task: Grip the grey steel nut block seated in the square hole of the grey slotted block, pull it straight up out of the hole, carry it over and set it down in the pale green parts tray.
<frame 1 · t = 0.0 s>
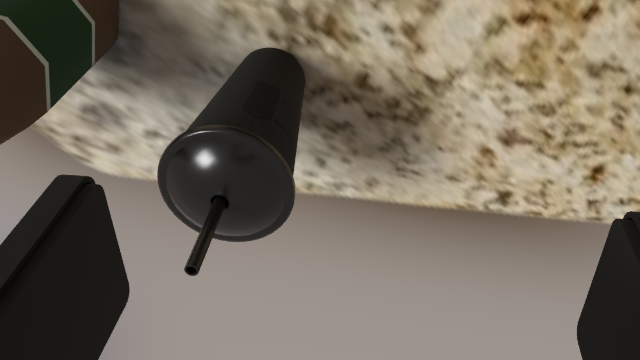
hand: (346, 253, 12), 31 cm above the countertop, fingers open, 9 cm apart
drinking cup: (272, 77, 45), on the countertop
beer bottle: (72, 3, 43), on the countertop
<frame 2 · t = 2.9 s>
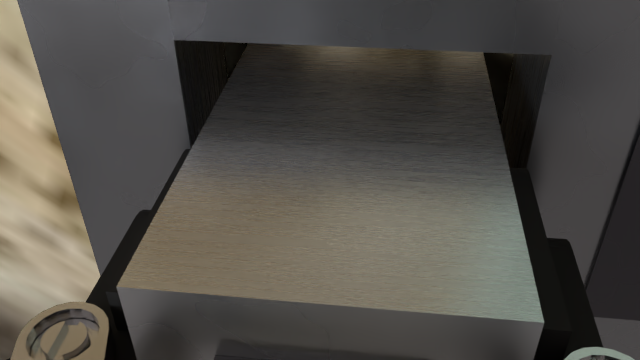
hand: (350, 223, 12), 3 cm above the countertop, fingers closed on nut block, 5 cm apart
grey slotted block: (530, 141, 15), on the countertop
nut block: (361, 133, 15), resting in grey slotted block, touching gripper
when the fingers open (6 cm above the countertop, at t = 9.0 s): nut block drops 2 cm, resting on parts tray.
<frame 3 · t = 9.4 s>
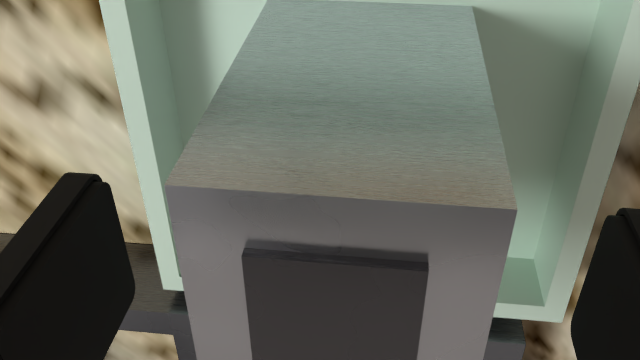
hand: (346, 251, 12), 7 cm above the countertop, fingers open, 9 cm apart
parts tray: (367, 88, 17), on the countertop
grey slotted block: (229, 336, 24), on the countertop
nut block: (364, 93, 17), resting on parts tray
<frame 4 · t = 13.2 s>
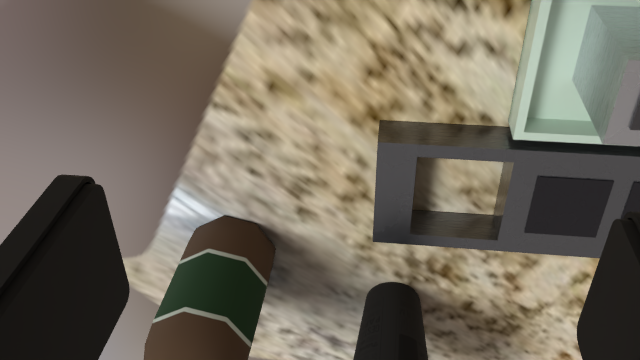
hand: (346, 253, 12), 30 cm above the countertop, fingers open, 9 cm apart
parts tray: (620, 43, 39), on the countertop
drinking cup: (392, 299, 55), on the countertop
grey slotted block: (510, 179, 46), on the countertop
nut block: (622, 45, 39), resting on parts tray
beer bottle: (235, 246, 54), on the countertop
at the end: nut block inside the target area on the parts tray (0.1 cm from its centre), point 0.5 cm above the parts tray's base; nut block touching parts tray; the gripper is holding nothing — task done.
